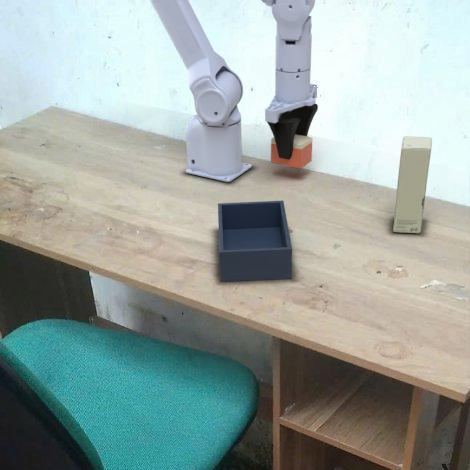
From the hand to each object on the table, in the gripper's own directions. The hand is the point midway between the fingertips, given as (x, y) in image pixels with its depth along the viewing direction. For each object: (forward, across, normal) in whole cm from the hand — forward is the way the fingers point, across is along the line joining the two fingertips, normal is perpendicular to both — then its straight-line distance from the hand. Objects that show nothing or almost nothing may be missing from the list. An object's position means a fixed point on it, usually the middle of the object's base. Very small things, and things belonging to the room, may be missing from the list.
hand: (291, 153), depth 138 cm
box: (+4, -9, -26) cm, 28 cm away
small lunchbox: (+1, 0, 0) cm, 1 cm away
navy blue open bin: (+4, -28, -10) cm, 30 cm away
